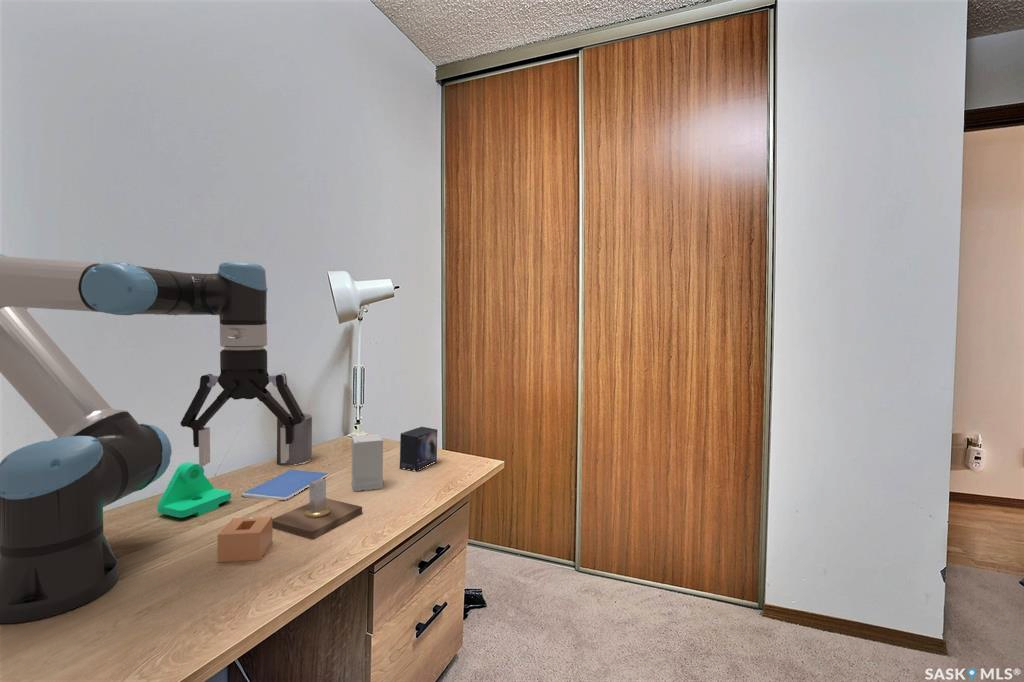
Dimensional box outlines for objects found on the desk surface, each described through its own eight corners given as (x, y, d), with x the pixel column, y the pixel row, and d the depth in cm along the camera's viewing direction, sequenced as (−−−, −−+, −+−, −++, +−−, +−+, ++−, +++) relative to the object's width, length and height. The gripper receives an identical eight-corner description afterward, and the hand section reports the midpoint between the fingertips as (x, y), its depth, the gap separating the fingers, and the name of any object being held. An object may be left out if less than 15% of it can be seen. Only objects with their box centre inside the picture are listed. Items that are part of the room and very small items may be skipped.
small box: (416, 472, 135) (417, 436, 135) (398, 469, 138) (398, 433, 137) (438, 462, 145) (438, 428, 144) (420, 459, 147) (421, 426, 147)
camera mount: (182, 523, 100) (181, 475, 100) (157, 517, 103) (156, 470, 102) (233, 502, 112) (232, 459, 111) (209, 498, 114) (209, 455, 114)
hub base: (312, 539, 94) (312, 497, 94) (269, 527, 99) (269, 486, 98) (362, 513, 107) (362, 475, 106) (322, 503, 112) (322, 467, 111)
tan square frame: (260, 559, 86) (260, 531, 86) (217, 562, 85) (217, 533, 84) (272, 541, 93) (272, 515, 92) (233, 543, 91) (233, 517, 91)
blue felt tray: (290, 473, 134) (290, 468, 134) (331, 476, 132) (331, 472, 132) (239, 498, 115) (239, 493, 115) (286, 503, 113) (286, 498, 113)
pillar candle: (270, 461, 142) (270, 412, 141) (301, 454, 150) (301, 407, 149) (287, 468, 136) (287, 417, 135) (318, 460, 144) (319, 411, 143)
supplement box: (383, 488, 122) (383, 440, 121) (352, 492, 119) (352, 442, 118) (380, 479, 129) (380, 433, 128) (351, 482, 126) (351, 435, 125)
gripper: (156, 349, 81) (158, 472, 82) (312, 349, 86) (312, 465, 87) (178, 346, 88) (180, 459, 89) (320, 347, 93) (320, 454, 94)
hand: (245, 462), depth 88 cm, fingers open, 13 cm apart
